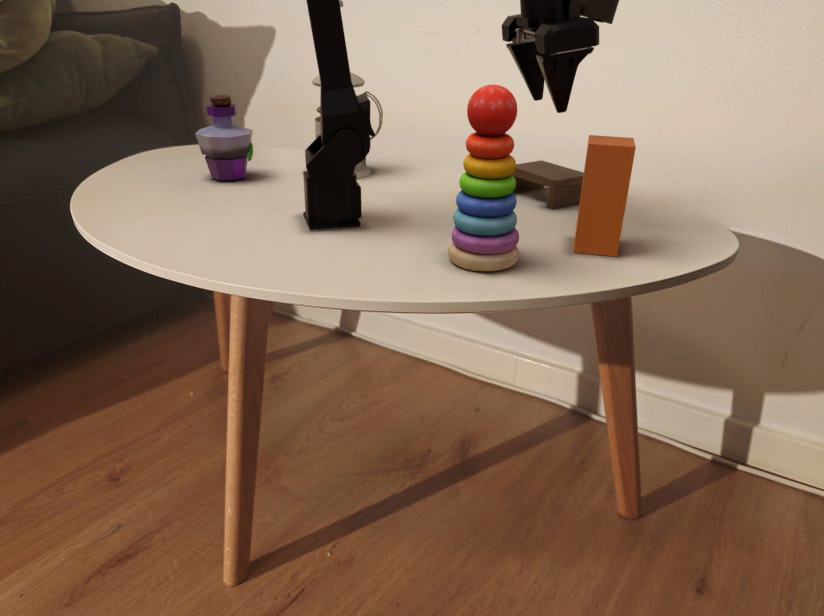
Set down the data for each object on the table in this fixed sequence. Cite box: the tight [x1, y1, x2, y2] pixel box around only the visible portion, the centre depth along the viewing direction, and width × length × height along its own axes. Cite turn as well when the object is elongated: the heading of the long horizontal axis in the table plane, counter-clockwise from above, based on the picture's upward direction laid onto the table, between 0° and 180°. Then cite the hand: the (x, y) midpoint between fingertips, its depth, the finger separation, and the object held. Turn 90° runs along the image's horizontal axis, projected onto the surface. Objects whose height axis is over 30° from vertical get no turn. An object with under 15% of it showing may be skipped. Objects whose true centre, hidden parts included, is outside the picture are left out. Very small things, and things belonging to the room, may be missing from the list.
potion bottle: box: [194, 94, 254, 183], centre depth 105 cm, size 9×9×12 cm
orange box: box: [573, 134, 637, 258], centre depth 81 cm, size 5×5×12 cm
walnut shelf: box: [512, 160, 584, 210], centre depth 102 cm, size 7×10×4 cm
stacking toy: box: [447, 84, 520, 272], centre depth 74 cm, size 8×8×19 cm
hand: (549, 105), depth 87 cm, fingers open, 9 cm apart
